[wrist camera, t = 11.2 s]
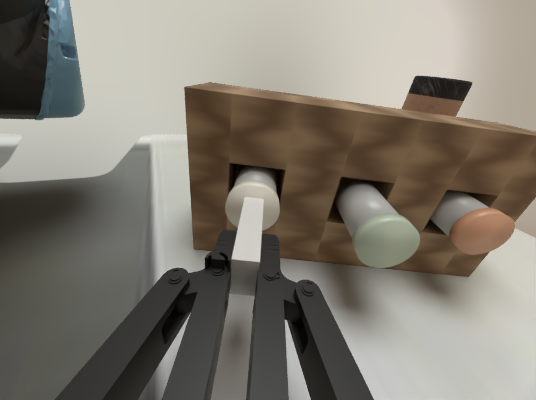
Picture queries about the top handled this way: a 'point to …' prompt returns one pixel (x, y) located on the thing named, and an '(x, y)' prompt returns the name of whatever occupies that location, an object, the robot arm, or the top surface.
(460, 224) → the terracotta button
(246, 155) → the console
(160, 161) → the top surface
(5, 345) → the top surface
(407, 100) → the travel mug
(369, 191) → the sage button
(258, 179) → the cream button
